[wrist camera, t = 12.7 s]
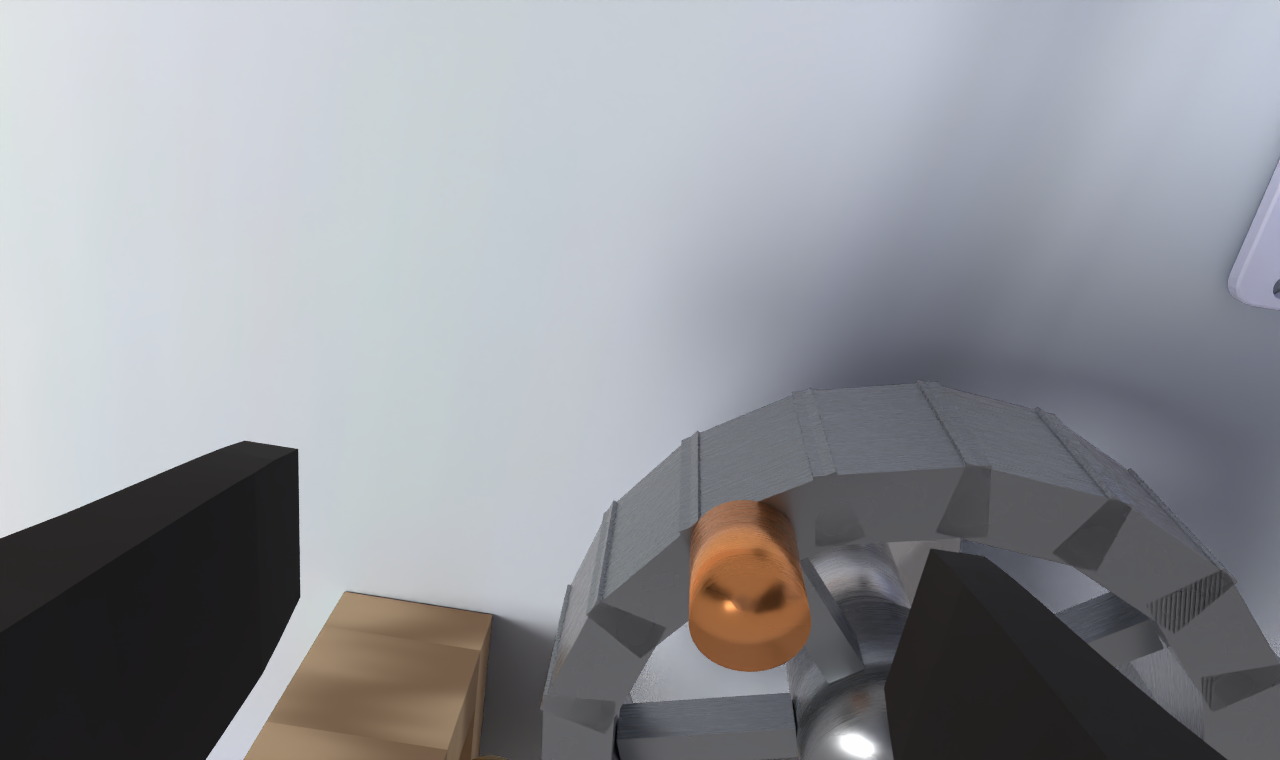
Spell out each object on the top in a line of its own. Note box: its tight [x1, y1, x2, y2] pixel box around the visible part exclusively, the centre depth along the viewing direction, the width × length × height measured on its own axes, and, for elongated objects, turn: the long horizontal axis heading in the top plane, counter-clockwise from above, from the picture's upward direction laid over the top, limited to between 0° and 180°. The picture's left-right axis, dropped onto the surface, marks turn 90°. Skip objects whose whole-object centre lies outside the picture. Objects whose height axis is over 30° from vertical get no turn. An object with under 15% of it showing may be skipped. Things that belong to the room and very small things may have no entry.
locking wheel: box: [540, 380, 1280, 760], centre depth 15 cm, size 10×12×5 cm
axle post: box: [808, 538, 961, 609], centre depth 20 cm, size 6×6×4 cm
